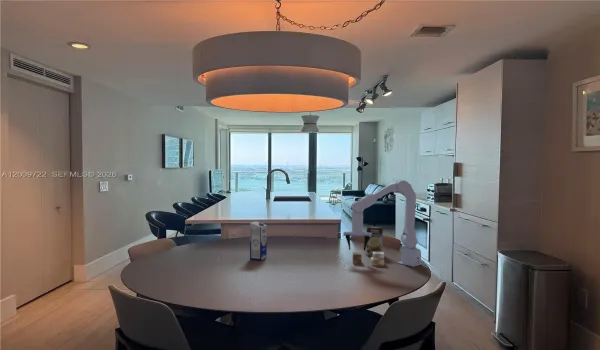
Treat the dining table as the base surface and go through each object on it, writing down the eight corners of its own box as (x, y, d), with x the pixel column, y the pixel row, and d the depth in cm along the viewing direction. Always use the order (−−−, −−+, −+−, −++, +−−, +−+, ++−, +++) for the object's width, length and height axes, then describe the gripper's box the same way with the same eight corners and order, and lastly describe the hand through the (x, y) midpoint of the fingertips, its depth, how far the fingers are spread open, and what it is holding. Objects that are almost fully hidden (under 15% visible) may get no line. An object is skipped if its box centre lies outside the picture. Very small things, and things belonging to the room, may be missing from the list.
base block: (383, 262, 193) (383, 257, 193) (384, 266, 187) (384, 260, 187) (370, 262, 194) (370, 256, 194) (371, 265, 188) (371, 259, 188)
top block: (383, 257, 193) (383, 251, 193) (384, 260, 187) (384, 254, 187) (372, 257, 193) (372, 251, 193) (373, 259, 188) (373, 253, 188)
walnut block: (361, 262, 194) (361, 252, 194) (361, 264, 189) (361, 254, 189) (352, 261, 194) (352, 252, 194) (352, 263, 190) (352, 254, 190)
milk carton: (255, 256, 202) (255, 220, 202) (266, 257, 200) (267, 221, 200) (249, 259, 196) (250, 222, 195) (261, 260, 193) (261, 223, 193)
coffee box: (366, 255, 207) (366, 227, 207) (365, 253, 214) (365, 226, 214) (382, 256, 207) (382, 228, 206) (381, 253, 213) (381, 226, 213)
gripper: (343, 224, 188) (343, 250, 189) (372, 225, 187) (371, 252, 187) (343, 222, 195) (343, 248, 196) (371, 223, 194) (370, 249, 194)
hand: (357, 249), depth 192 cm, fingers open, 7 cm apart
